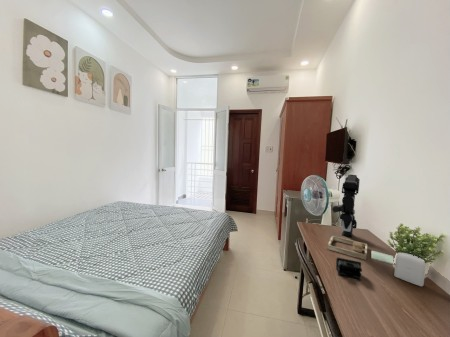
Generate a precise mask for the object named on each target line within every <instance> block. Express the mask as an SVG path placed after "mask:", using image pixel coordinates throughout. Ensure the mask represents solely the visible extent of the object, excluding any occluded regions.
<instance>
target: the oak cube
mask: <svg viewBox="0 0 450 337" xmlns="http://www.w3.org/2000/svg"><path fill="white" fill-rule="evenodd" d="M358 242H359V241H357V242H353V245H352V251H354V252H358V253H362V252H363V248H362V244H361V243H362V242H361V243H358Z"/></svg>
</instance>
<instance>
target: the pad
mask: <svg viewBox="0 0 450 337" xmlns="http://www.w3.org/2000/svg"><path fill="white" fill-rule="evenodd" d="M370 254H371V256H370V257H371V259H372V260H375V261H379V262H382V263H386V264H390V265H393V264H392V263H393V260H394V261H395V259H394V255H390V254H387V253H384V252H383V253H382V252H380V251H374V250H371V253H370Z"/></svg>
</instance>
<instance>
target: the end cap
mask: <svg viewBox="0 0 450 337" xmlns="http://www.w3.org/2000/svg"><path fill="white" fill-rule="evenodd" d="M335 260H336V261H335V264H336V265H335V266H336V268H335V269H336V271H337V275H338V276H339V277H342V278H346V279H351V280H356V281H362V280H361V278H362V272H363V269H362V262H361V261H358V260H353V259H348V258H343V257H336V259H335Z"/></svg>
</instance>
